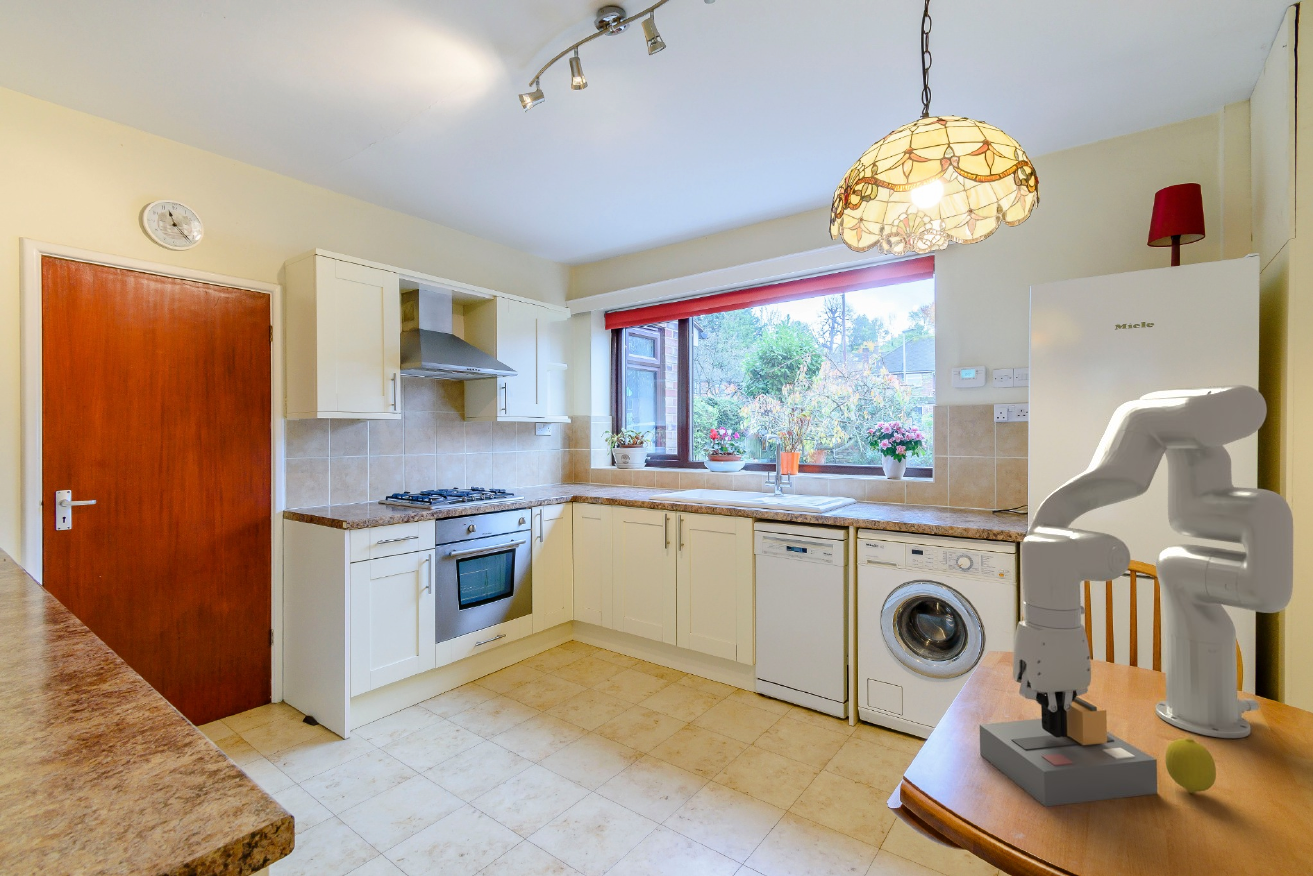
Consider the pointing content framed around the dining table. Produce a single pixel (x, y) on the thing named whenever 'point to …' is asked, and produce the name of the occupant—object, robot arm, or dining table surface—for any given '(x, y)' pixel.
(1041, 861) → the dining table surface
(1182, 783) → the lemon
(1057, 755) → the switch panel
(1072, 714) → the orange block
